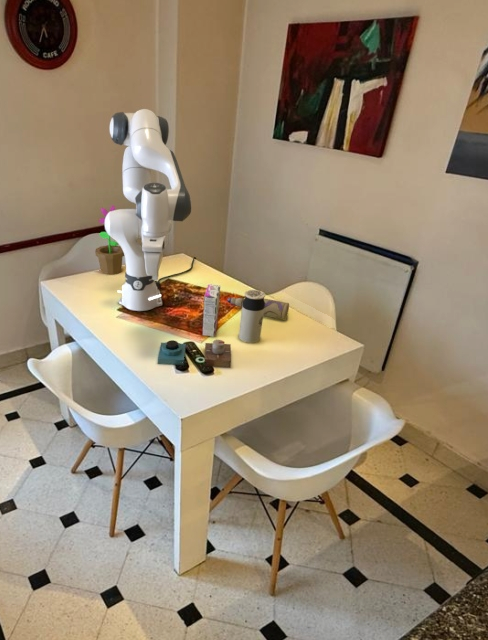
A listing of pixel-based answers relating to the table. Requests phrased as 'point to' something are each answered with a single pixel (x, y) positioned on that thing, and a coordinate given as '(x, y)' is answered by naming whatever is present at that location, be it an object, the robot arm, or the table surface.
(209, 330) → the candy bar box
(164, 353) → the button box
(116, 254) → the flowerpot
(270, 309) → the decorative bottle
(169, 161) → the robot arm
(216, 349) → the dial knob
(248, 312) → the travel mug
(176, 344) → the button
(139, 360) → the table surface
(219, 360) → the dial panel
